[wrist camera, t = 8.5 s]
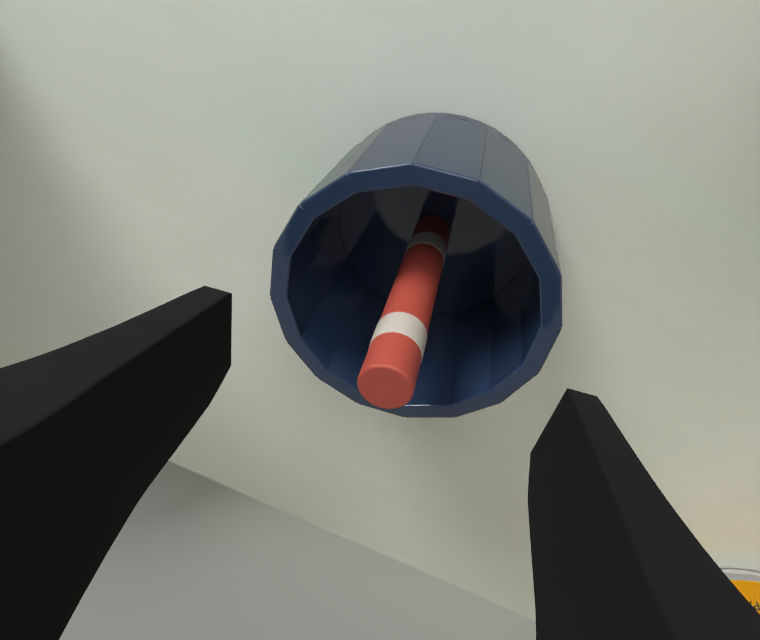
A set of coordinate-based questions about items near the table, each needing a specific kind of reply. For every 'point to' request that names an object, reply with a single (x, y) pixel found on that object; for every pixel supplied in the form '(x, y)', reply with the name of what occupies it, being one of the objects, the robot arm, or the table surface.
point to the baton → (405, 319)
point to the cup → (458, 277)
